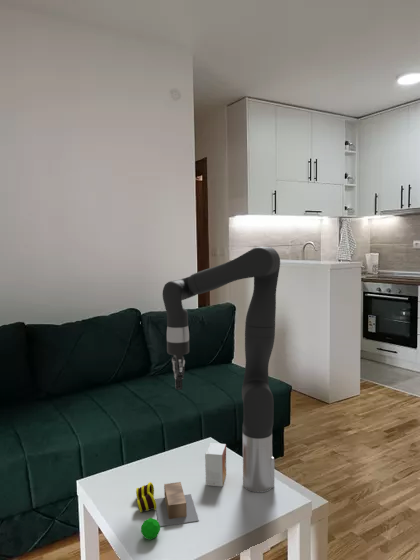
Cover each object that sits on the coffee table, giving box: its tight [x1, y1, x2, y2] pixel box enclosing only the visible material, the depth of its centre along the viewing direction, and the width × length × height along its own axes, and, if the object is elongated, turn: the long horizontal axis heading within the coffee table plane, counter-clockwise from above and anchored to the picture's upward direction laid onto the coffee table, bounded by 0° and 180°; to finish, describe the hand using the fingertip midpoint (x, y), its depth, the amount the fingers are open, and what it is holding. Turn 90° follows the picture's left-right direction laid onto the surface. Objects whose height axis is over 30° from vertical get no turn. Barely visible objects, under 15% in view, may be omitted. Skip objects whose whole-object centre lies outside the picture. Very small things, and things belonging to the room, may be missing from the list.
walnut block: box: [163, 481, 187, 519], centre depth 128 cm, size 5×4×11 cm
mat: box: [154, 493, 200, 528], centre depth 127 cm, size 11×13×1 cm
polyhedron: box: [140, 517, 161, 540], centre depth 115 cm, size 5×5×5 cm
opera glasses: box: [135, 481, 157, 513], centre depth 130 cm, size 10×5×5 cm, turn 12°
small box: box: [204, 442, 227, 487], centre depth 142 cm, size 8×6×10 cm
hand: (178, 389), depth 150 cm, fingers closed
